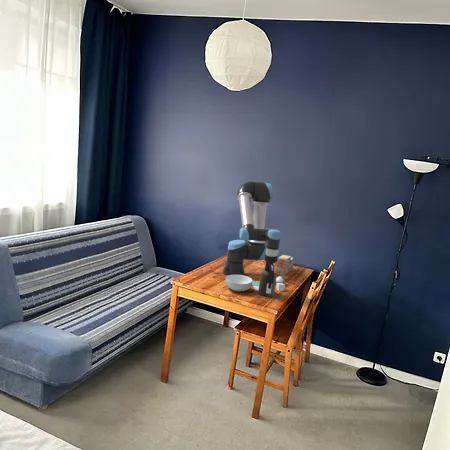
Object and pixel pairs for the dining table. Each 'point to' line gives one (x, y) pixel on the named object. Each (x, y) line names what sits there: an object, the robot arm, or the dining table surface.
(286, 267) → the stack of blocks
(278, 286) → the die
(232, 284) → the cereal bowl
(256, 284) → the pad
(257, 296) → the ring
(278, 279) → the dome
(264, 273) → the pillar candle
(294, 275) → the dining table surface
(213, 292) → the dining table surface
